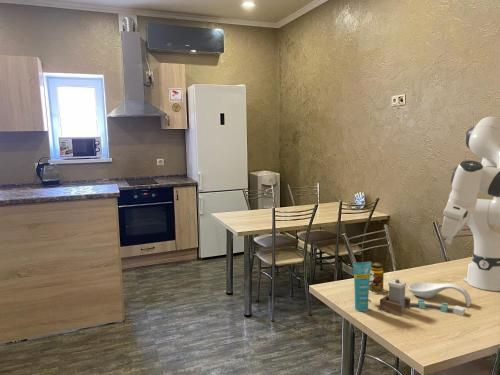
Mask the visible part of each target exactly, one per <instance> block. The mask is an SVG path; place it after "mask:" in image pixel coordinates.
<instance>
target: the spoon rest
mask: <svg viewBox="0 0 500 375" xmlns="http://www.w3.org/2000/svg"><path fill="white" fill-rule="evenodd" d="M407 288H408V290H409V291H410V292H411V293H412V294H413V295H414V296H416V297H418V298H421V299H422V298H423V299H431V298H432V297H434V296H437V295H438V294H439V293H440V292H442V291H444V290H448V289H453V290H456V291H458V292H460V293H461V294H462V295H463V297H464V299H465V305H466V306H465V307H470V306H471V304H472V298H471V294H469V292H468V291H467V290H466V289H465V288H463V287H462V286H460V285H457V284H455V283H449V282H447V283H435V282H433V283H432V282H418V281H417V282H413V283H410V284H409V285H408V286H407Z"/></svg>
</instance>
